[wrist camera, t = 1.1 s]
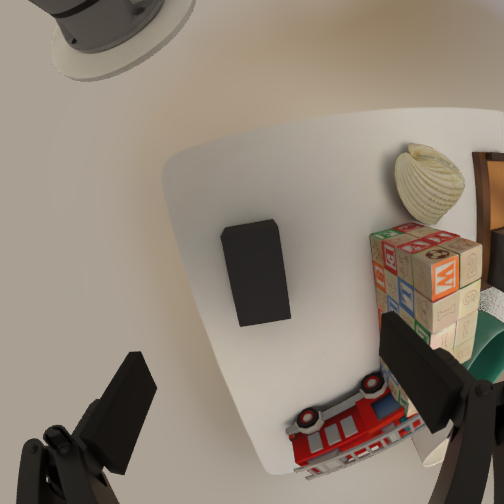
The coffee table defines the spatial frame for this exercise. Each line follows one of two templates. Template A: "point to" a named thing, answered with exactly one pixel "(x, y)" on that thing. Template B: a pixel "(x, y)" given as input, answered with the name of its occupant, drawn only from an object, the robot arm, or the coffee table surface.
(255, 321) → the black block
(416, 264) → the stack of blocks
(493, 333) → the mug
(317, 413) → the toy fire truck
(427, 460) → the candle holder
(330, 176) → the coffee table surface
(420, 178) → the seashell
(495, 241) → the brown wooden tray
